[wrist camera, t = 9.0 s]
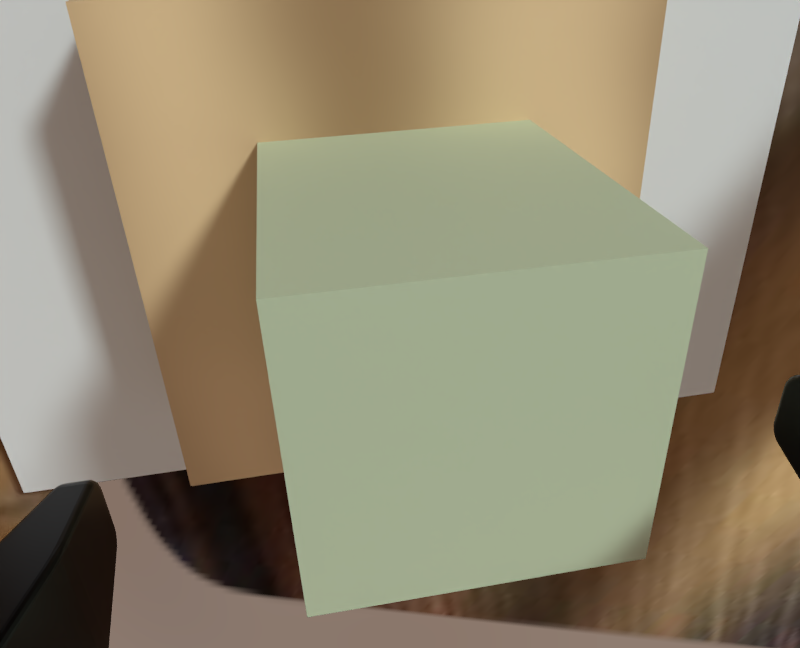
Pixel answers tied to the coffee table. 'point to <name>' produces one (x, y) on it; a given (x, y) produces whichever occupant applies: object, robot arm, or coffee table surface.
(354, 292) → the top block
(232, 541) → the coffee table surface
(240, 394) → the base block
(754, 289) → the coffee table surface
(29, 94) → the white rectangular plate
